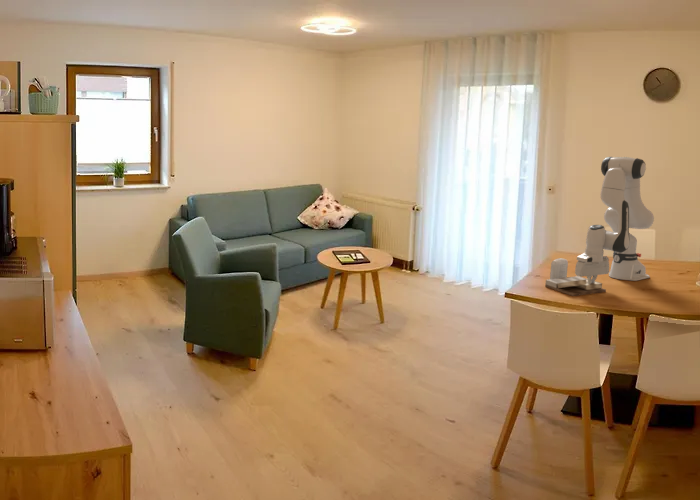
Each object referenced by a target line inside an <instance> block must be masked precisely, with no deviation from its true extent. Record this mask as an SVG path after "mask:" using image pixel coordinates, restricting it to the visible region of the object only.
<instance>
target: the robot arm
mask: <svg viewBox="0 0 700 500" xmlns="http://www.w3.org/2000/svg"><path fill="white" fill-rule="evenodd" d="M600 165H601V166H600V172H601V174H602V175H603V176H604V179H603V181H602V186H601V190H600V199H601V202H602V203H603V204H604V205H605V206H606V207H607V208H606V210H605V211H604V214H603V218H604V221H605V223H606V224H607V225H608V226H609V227H610V229H611V230H612V231H610V230H606V229H605V228H606V227H605V226H604V225H602V224H592V225H590V226H589V227H588V228H587V229H588V230H587V233H586V239H585V245H586V246H585V247H586V248H585V251H584V252H583V253H582V254H579V255H577V256H576V260H577V261H576V264H575V271H574V274H575V276H579V277H582V278H584V277H586V279H588V284H594V283H595V281H596V279H597V278H598V276H601V275H608V276H609V277H610V278H611V279H612V278H613V279H617V280H624V281H634V282H637V281H641V280H645V279H650V277H651V276H650V275H649V274H647V273H646V272H647V271H646V270H647V269H646V266H645V265H644V264H643V263H642V262H641V261H640V260H639V259H638V258H641V257H642V253H638V252H637V247H638V240H637V237H636V236H635V235H633V234H632V233H630V229H636V230H643V229H644V230H645V229H650V227H652V226H653V224H654V221H655V217H654V214H653V212H652V211H651V210H650V209H648V207H646V205H645V204H644V203H643V200H642V198H641V179H642V178H643V176H644V175H645V172H646V169H647V167H646V161H644V160H643V159H641V158H638V157H637V158H634V157H629V156H628V157H627V156H608V157H607V156H606V157H605V158H604V159H603V160H602V161H601V164H600ZM604 250H606V251H611V252H613V254H612V258H613V259H612V261H611V265H610V261H609V260H610V258H609V257H608V256H607V255H604Z"/></svg>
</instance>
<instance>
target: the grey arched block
mask: <svg viewBox="0 0 700 500" xmlns="http://www.w3.org/2000/svg"><path fill="white" fill-rule="evenodd" d="M568 264H569V262H568V259H566V258H561V257H560V258H556V259H554V260H552V261H551V264H550V274H549V275H550V276H549V279H557V278H566V277H567V275H568V267H569V266H568Z"/></svg>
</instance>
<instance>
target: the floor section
mask: <svg viewBox="0 0 700 500" xmlns="http://www.w3.org/2000/svg"><path fill="white" fill-rule="evenodd" d="M578 280H588V279H587V277H586V278H585V277H580V276H577V275H575V276H569V277H566V278H557V279H550V278H549V279H545V285H544V286H545V288H548V289H551V290H554V291H558V292H560V293H563V294H565V295H569V296H572V297H576V296H583V295H584V296H585V295H591V294H592V293H593V294H599V293H606V291H607V289H605V288H603V287H602V288H597V289H589V290H585V289H582V288H578V287H575V286H572V287H563V288H558V284H557V283H563V282H570V281H578ZM593 294H592V295H593Z"/></svg>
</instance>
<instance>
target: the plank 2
mask: <svg viewBox="0 0 700 500" xmlns="http://www.w3.org/2000/svg"><path fill="white" fill-rule="evenodd" d="M575 287H578V288H582V289H585V290H589V289H597V288H603V283H602V282H599V281H596V280H595V283H594V284H588V280H586V284H585V285H579V286H575Z"/></svg>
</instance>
